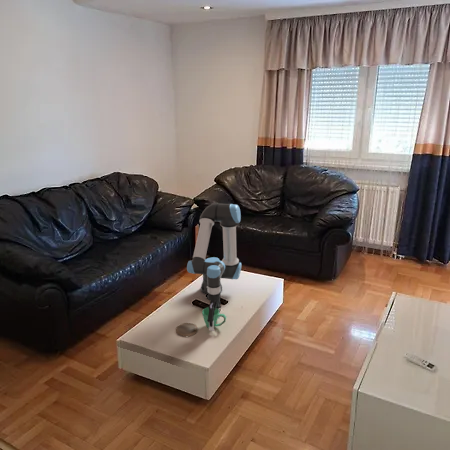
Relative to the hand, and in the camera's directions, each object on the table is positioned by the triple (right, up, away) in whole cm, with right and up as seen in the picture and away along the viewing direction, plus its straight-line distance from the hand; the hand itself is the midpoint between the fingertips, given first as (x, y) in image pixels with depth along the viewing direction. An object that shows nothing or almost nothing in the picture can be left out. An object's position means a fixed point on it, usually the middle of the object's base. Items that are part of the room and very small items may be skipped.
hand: (214, 324), depth 234 cm
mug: (0, -2, +1) cm, 2 cm away
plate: (-16, -3, -2) cm, 17 cm away
